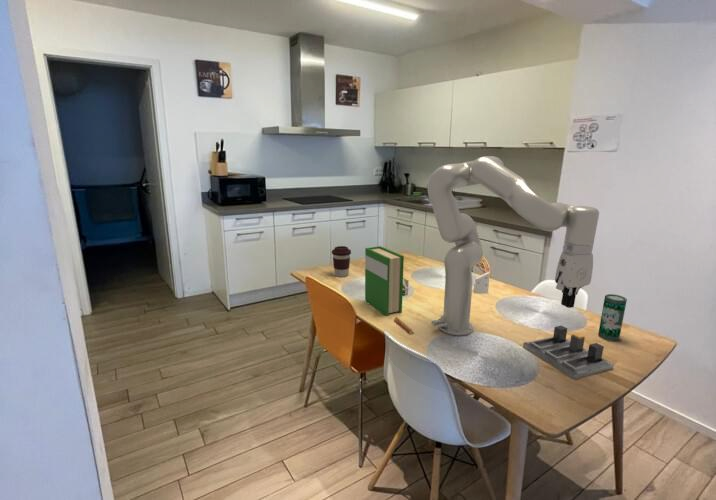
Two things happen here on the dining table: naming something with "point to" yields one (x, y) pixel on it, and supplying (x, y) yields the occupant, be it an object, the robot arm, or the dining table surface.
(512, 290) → the dining table surface
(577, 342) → the block
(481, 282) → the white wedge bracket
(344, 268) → the coffee cup
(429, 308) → the dining table surface
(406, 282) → the architectural model
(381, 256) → the hardback book
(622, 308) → the can
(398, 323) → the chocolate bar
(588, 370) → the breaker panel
